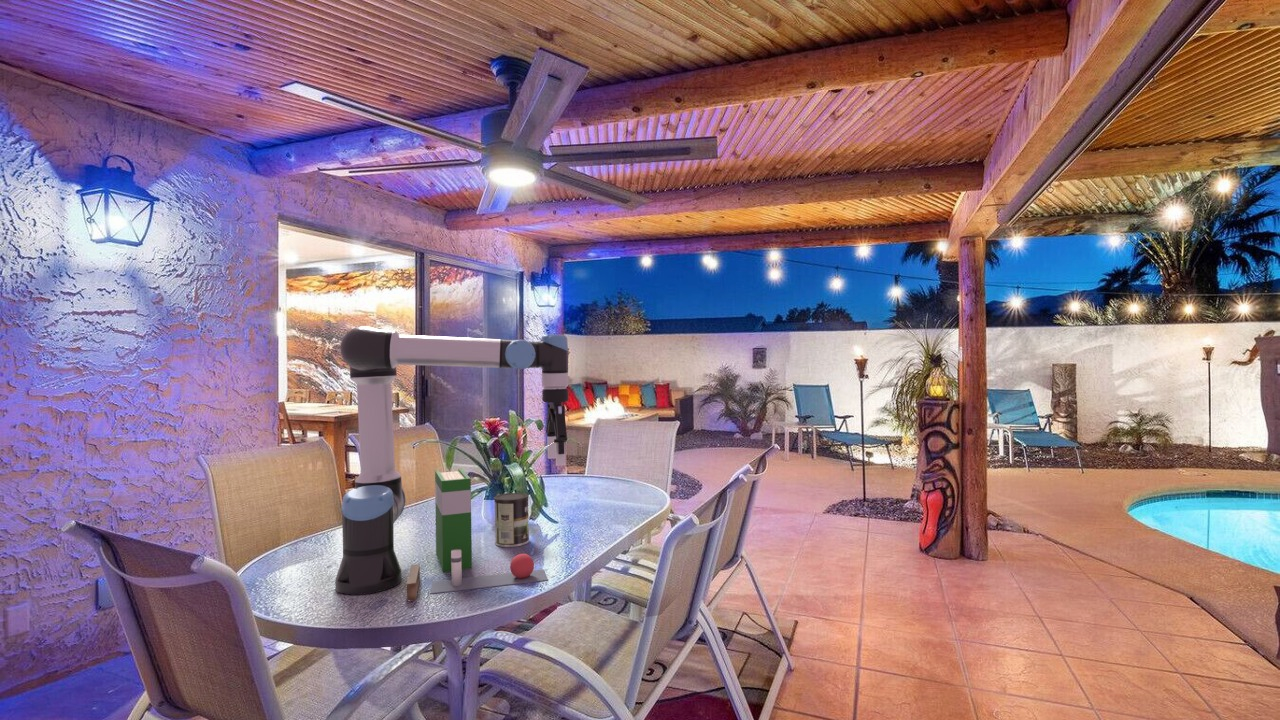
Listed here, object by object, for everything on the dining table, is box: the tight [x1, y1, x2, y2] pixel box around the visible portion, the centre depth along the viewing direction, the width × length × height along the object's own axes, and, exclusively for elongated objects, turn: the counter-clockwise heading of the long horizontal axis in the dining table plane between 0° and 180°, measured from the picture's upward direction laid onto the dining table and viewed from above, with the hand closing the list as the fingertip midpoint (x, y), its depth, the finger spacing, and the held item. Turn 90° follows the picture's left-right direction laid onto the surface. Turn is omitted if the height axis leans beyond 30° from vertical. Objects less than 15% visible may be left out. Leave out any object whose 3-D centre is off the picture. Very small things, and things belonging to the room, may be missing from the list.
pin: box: [450, 549, 463, 586], centre depth 151 cm, size 2×2×8 cm
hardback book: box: [434, 468, 473, 573], centre depth 170 cm, size 18×7×24 cm, turn 24°
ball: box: [509, 553, 535, 579], centre depth 155 cm, size 6×6×6 cm
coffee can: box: [493, 492, 530, 548], centre depth 186 cm, size 10×10×14 cm
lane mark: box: [430, 569, 549, 595], centre depth 153 cm, size 28×8×1 cm, turn 106°
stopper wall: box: [406, 563, 421, 602], centre depth 148 cm, size 2×14×4 cm, turn 16°
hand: (556, 462), depth 176 cm, fingers open, 13 cm apart
